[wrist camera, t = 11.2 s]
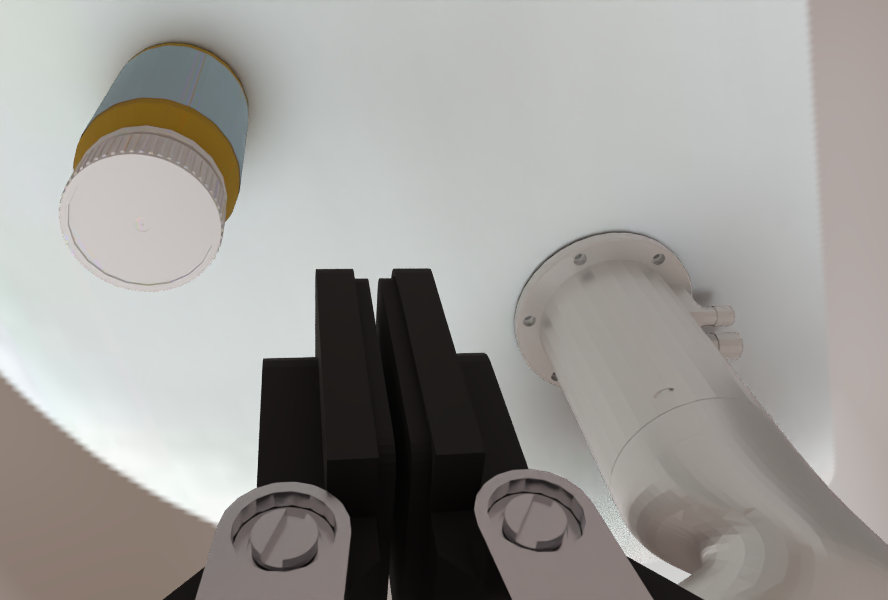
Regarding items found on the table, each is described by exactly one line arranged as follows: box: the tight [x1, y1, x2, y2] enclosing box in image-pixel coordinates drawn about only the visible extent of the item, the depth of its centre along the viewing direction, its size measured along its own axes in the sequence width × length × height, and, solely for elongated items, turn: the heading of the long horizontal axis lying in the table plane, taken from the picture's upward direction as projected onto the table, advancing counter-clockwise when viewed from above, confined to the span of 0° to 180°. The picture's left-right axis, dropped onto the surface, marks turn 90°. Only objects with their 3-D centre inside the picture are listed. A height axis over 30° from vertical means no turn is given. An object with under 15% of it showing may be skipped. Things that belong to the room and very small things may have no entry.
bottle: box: [59, 43, 248, 292], centre depth 38 cm, size 7×7×15 cm
